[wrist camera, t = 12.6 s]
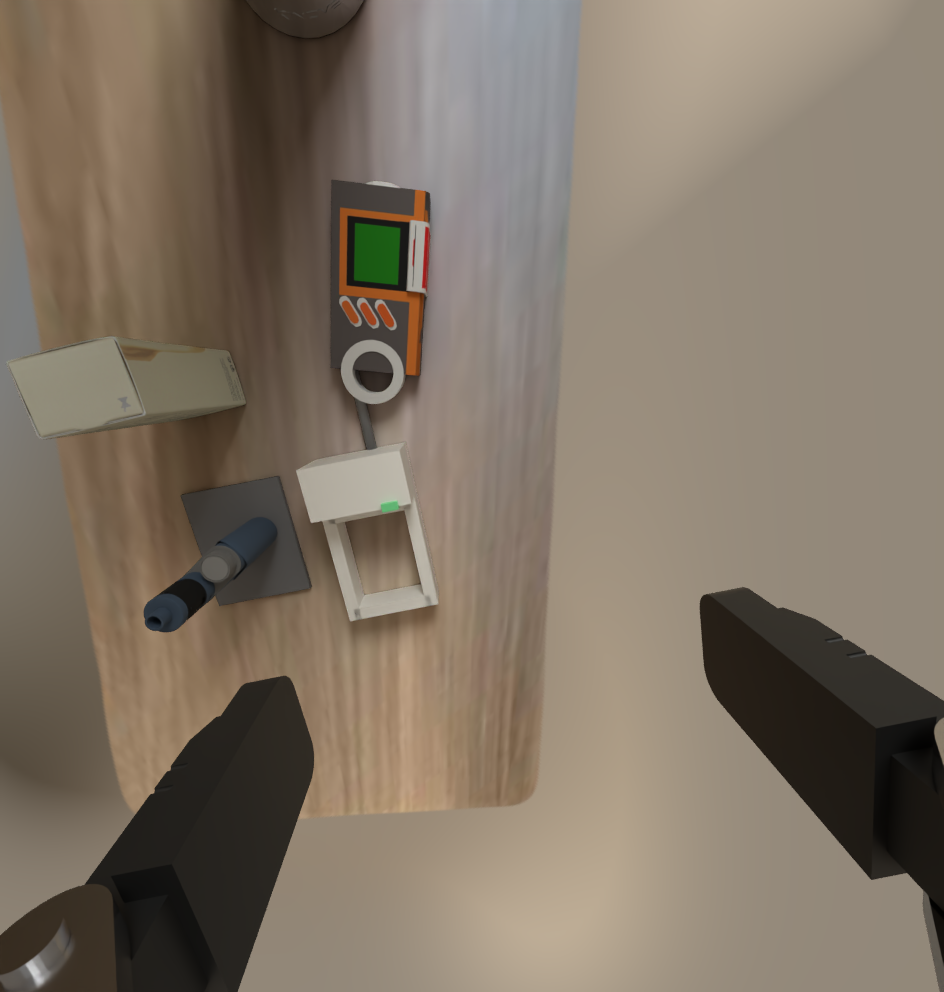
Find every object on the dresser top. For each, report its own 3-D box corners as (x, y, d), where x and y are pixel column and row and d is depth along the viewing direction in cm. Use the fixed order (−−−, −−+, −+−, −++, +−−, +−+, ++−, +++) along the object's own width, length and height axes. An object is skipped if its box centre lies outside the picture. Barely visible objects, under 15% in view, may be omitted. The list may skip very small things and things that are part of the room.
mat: (183, 494, 38) (180, 495, 37) (279, 475, 38) (277, 476, 37) (221, 603, 40) (219, 605, 40) (311, 586, 40) (310, 588, 40)
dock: (279, 327, 35) (250, 317, 30) (376, 309, 35) (363, 296, 30) (355, 607, 41) (342, 640, 36) (438, 591, 41) (437, 621, 36)
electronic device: (329, 400, 35) (330, 171, 31) (338, 397, 38) (340, 187, 33) (418, 408, 35) (431, 183, 31) (421, 404, 38) (433, 198, 34)
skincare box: (230, 349, 35) (120, 330, 24) (249, 405, 36) (152, 415, 25) (149, 367, 35) (-3, 358, 24) (170, 423, 36) (35, 441, 25)
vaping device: (220, 550, 39) (122, 622, 27) (262, 508, 38) (179, 563, 26) (244, 571, 39) (158, 650, 28) (286, 530, 38) (215, 592, 27)
